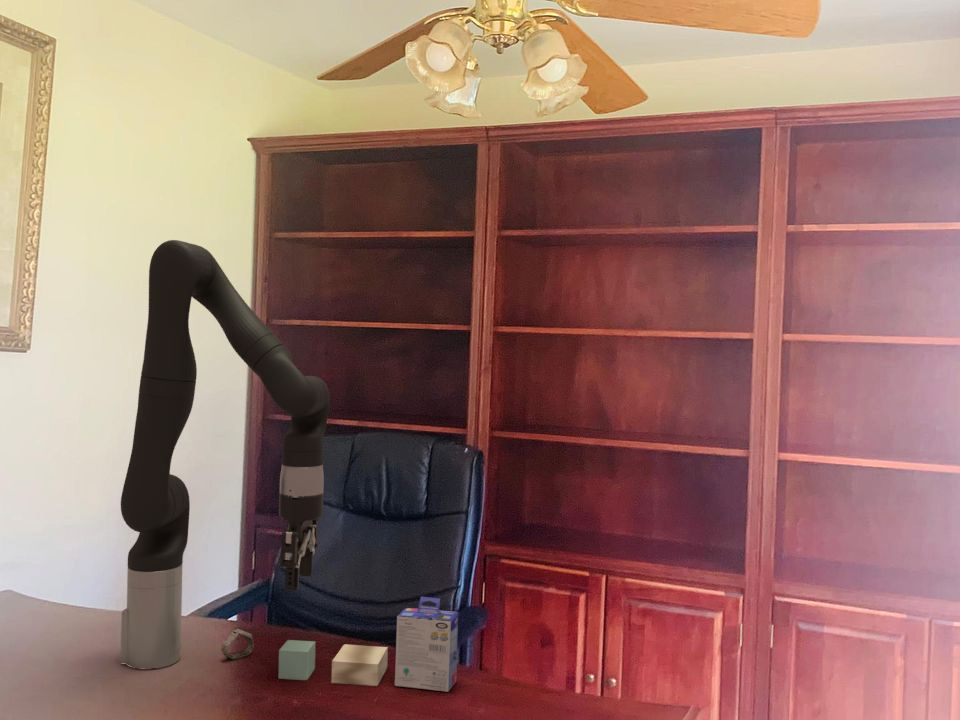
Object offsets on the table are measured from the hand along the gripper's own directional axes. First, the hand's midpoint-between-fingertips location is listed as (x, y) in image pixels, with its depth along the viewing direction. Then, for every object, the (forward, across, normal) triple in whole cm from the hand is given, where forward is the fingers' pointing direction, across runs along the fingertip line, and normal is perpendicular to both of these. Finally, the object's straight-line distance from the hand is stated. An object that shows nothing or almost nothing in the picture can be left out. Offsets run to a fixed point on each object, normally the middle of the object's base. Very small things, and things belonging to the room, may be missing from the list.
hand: (298, 582), depth 144 cm
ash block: (+16, -1, +11) cm, 20 cm away
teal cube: (+16, 0, 0) cm, 16 cm away
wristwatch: (+16, -6, -13) cm, 22 cm away
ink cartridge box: (+16, +1, +23) cm, 28 cm away
